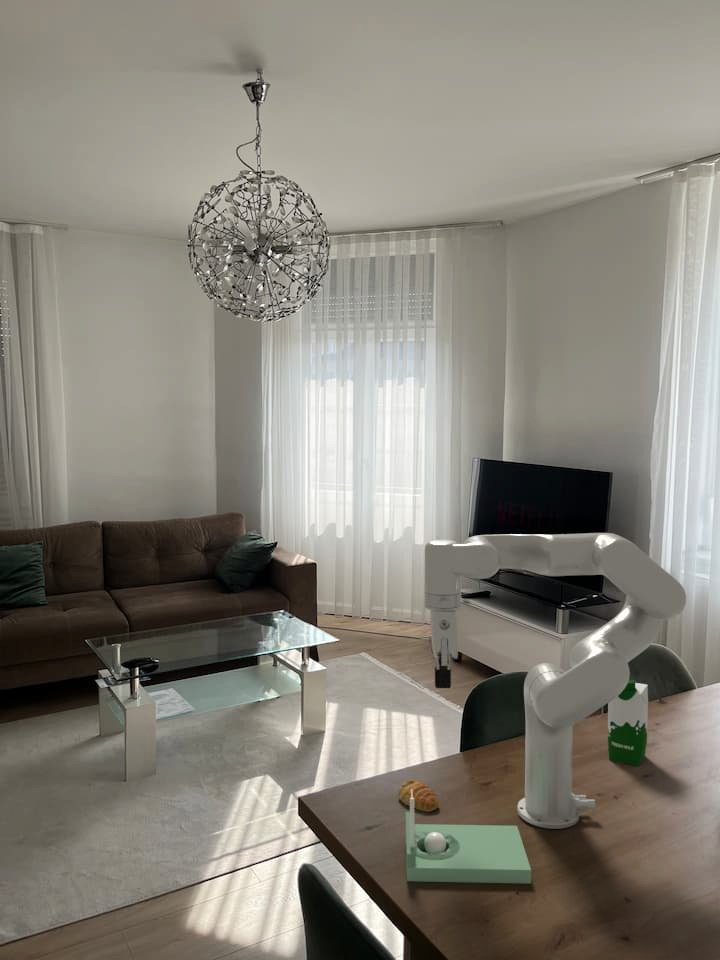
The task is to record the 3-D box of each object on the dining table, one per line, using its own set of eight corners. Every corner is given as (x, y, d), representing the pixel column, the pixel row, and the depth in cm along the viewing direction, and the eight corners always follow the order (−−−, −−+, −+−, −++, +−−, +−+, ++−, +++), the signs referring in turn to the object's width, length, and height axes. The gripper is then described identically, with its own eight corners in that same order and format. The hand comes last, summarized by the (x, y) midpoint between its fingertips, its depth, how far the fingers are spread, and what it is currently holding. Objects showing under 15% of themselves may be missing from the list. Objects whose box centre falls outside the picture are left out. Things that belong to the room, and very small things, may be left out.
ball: (417, 842, 144) (431, 860, 144) (422, 844, 140) (437, 863, 140) (432, 826, 146) (447, 843, 145) (438, 828, 142) (453, 846, 141)
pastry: (446, 807, 162) (446, 790, 161) (423, 817, 157) (423, 800, 157) (417, 791, 169) (417, 774, 169) (394, 800, 165) (394, 783, 165)
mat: (517, 838, 149) (517, 813, 149) (531, 883, 134) (531, 856, 134) (405, 836, 150) (405, 811, 149) (407, 881, 135) (406, 854, 135)
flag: (413, 860, 141) (413, 788, 140) (414, 874, 137) (414, 799, 136) (409, 860, 141) (409, 788, 140) (410, 874, 137) (409, 799, 136)
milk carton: (604, 760, 183) (605, 680, 182) (613, 747, 191) (614, 669, 190) (641, 769, 179) (643, 686, 177) (649, 755, 186) (651, 675, 185)
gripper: (464, 608, 148) (464, 699, 150) (457, 592, 163) (457, 675, 164) (426, 608, 149) (426, 699, 150) (423, 592, 164) (423, 675, 165)
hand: (442, 686), depth 157 cm, fingers closed
